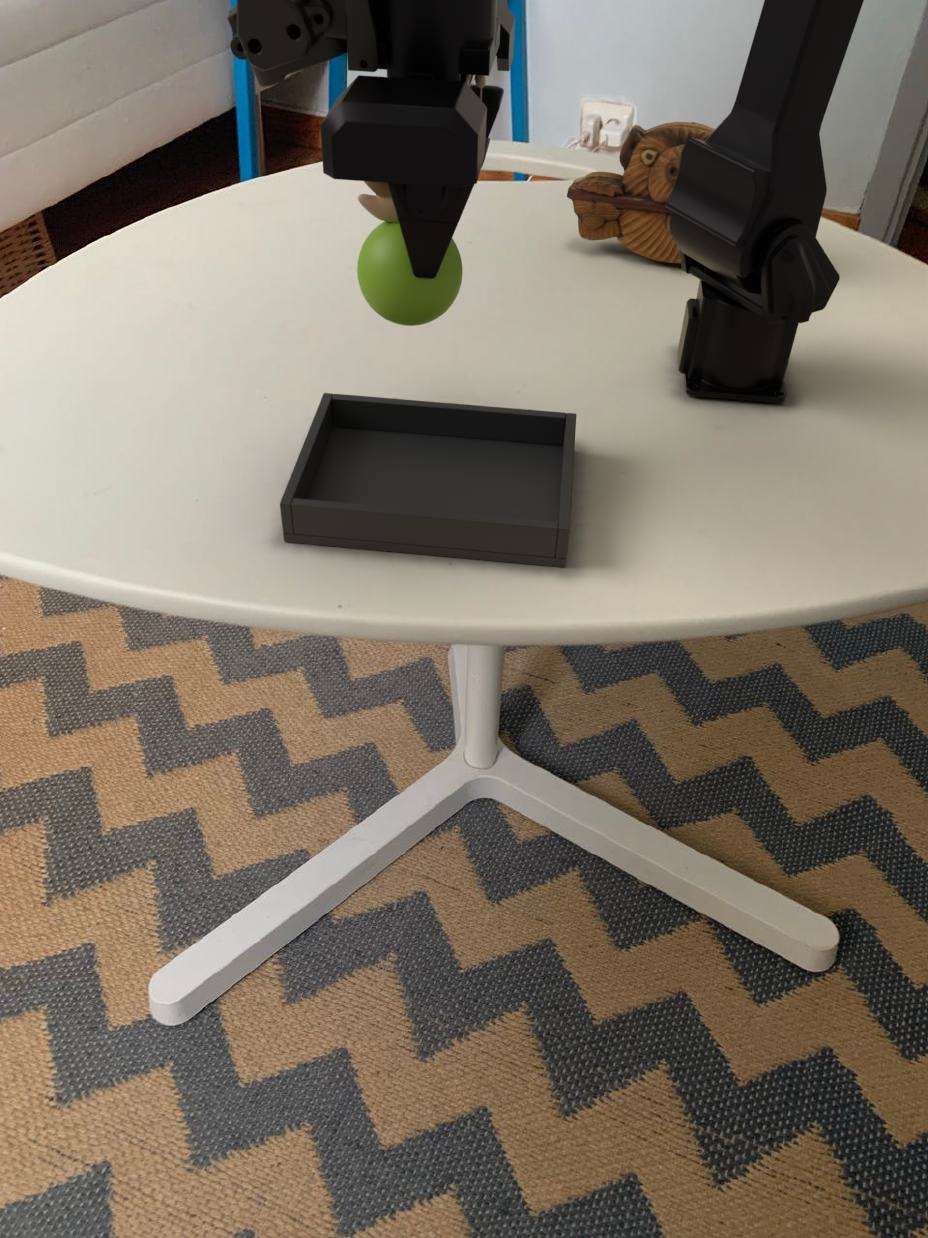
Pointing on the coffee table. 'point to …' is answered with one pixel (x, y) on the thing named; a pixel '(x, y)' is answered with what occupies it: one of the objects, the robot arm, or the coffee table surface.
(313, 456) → the tray
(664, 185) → the wooden carving
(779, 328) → the robot arm
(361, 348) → the coffee table surface
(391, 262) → the snail figurine
